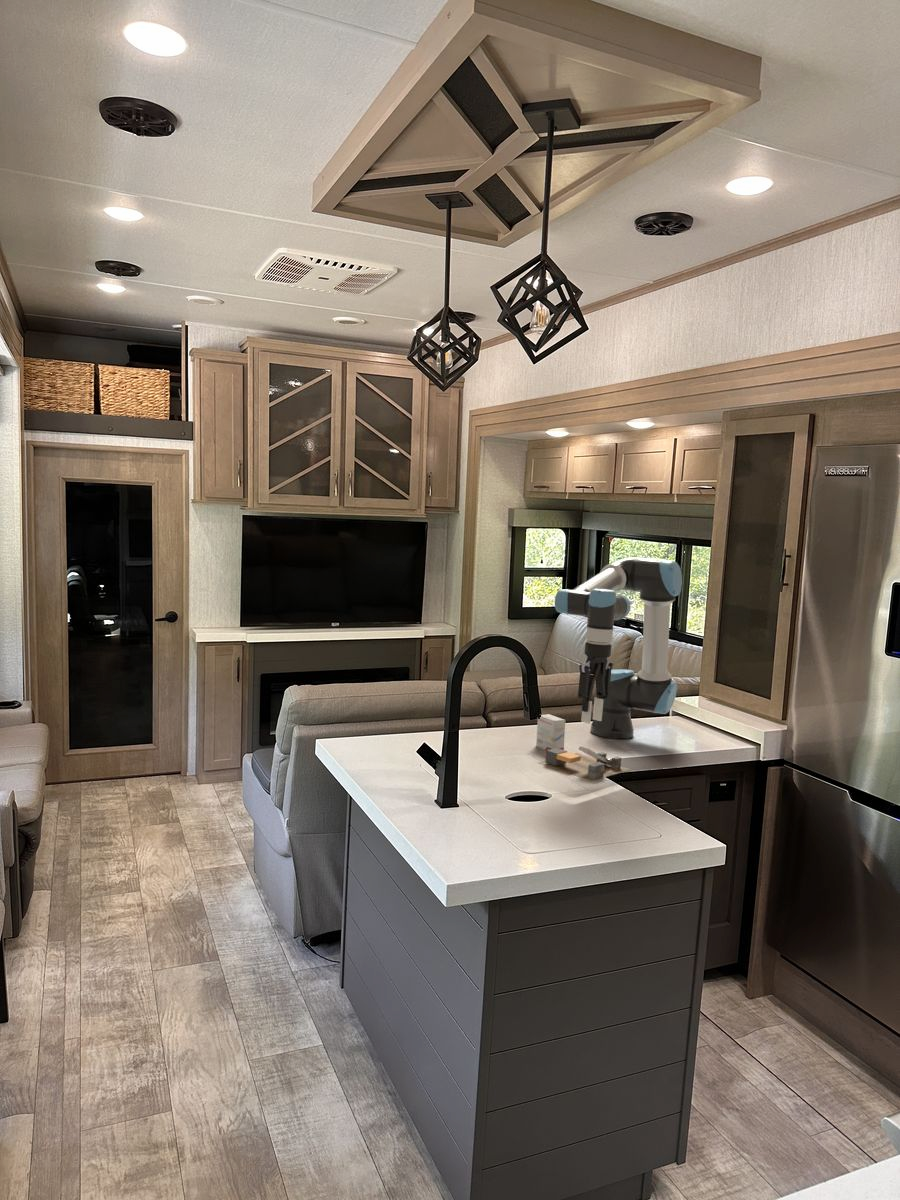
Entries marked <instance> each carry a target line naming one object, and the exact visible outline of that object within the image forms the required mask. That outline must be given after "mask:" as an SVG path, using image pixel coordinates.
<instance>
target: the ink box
mask: <svg viewBox="0 0 900 1200" xmlns="http://www.w3.org/2000/svg"><path fill="white" fill-rule="evenodd" d="M540 715H541V717H540V719H538V718H537V725H536V726H537V727H536V742H535V743H536V744H535V747H537V748H540V749H541V750H544V751H546V750H550V749H555V748H558V749H562V750H565V734H566V733H565V732H566V731H565V730H566V719H563V718H561V717H557V716H556V715H552V714H549V713H548V714H540Z"/></svg>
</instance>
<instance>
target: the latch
mask: <svg viewBox="0 0 900 1200" xmlns="http://www.w3.org/2000/svg"><path fill="white" fill-rule="evenodd" d="M580 759H581V756H579V755H576V754H575V753H573V752H569V751H567V750H565V749H564V750H562V749H558V748H555V749H550V750H545V761H546V762H545V763H548V764H551V765H554V766H559V765H562V764H566V762H568V763H573V762H577V761H580Z"/></svg>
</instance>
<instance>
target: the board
mask: <svg viewBox="0 0 900 1200" xmlns="http://www.w3.org/2000/svg"><path fill="white" fill-rule="evenodd" d="M574 754H576V755H579V756H581V759H580V761H577V762H573V763H568V762H566V764H562V765H559V766H554V765H551V764H548V763H545V762H546V760H542V761H539V762H537V764H539V765H542V766H545V767H549V768H551V769H554V770H558V771H561V772H564V773H566V774H570V775H573V776H574V777H575V776H576V777H578V778H581V779H584V780H588V781H591V782H592V781H596V780H600V779H604V778H606V777H610V776H614V775H618V774H621V773H624V772H627V771H631V769H630V768H627V767H624V766H622V757H619V756H615V757H612V758H611V760H612V765H611V766H610V765H606V764H604V763H602V762H601V761H599V760H597V759H595V758H593V757H592V756H589V755H585V754H581V753H578V752H575V753H574ZM597 754H599V755H600V756H602V757H604V758H607V754H608V753H606V752H603V751H602V752H597Z"/></svg>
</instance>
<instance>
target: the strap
mask: <svg viewBox="0 0 900 1200" xmlns="http://www.w3.org/2000/svg"><path fill="white" fill-rule="evenodd" d="M578 750H579V751H581V752H583V753H584V754H586V755H587V756H589V757H592V758H595V759H597V760H599V761H601V762H602V763H604V764H606V765H610V766H611V765H612V758H611V759H610V758H607V757H606V758H604V757H602V756H600V755H599V754H597V753H598V752H597V753H596V752H595V751H594V750H593V751H592V750H591V749H589V748H587V747H584V746H579V747H578Z"/></svg>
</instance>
